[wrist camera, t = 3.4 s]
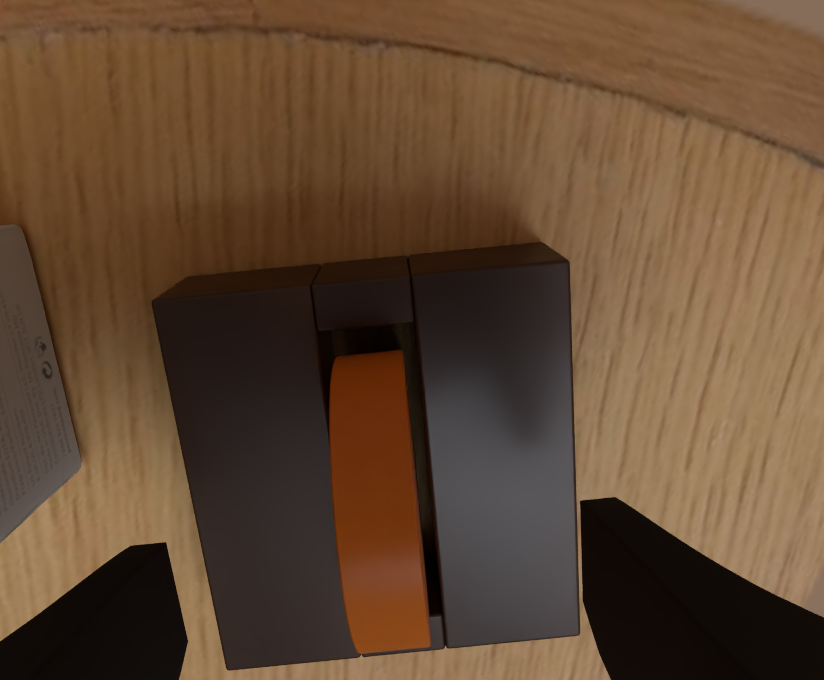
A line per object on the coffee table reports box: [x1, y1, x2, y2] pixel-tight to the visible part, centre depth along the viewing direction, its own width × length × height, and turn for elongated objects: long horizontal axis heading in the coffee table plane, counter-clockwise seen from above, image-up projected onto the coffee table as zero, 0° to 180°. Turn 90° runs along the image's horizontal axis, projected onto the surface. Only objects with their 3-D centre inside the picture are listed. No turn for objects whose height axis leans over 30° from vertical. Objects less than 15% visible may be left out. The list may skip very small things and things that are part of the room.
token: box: [329, 350, 431, 654], centre depth 15 cm, size 1×6×6 cm, turn 6°
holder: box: [152, 242, 580, 670], centre depth 16 cm, size 8×9×2 cm
